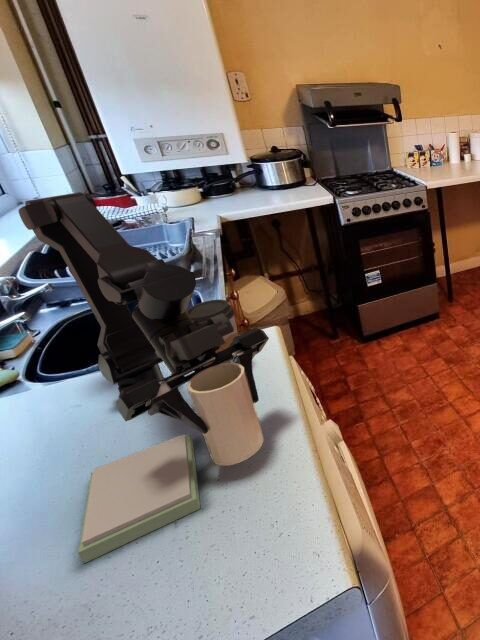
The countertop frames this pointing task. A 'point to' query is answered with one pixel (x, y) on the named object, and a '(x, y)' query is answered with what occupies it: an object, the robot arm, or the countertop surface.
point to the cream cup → (226, 412)
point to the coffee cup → (210, 310)
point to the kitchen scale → (138, 496)
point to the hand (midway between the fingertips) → (232, 416)
